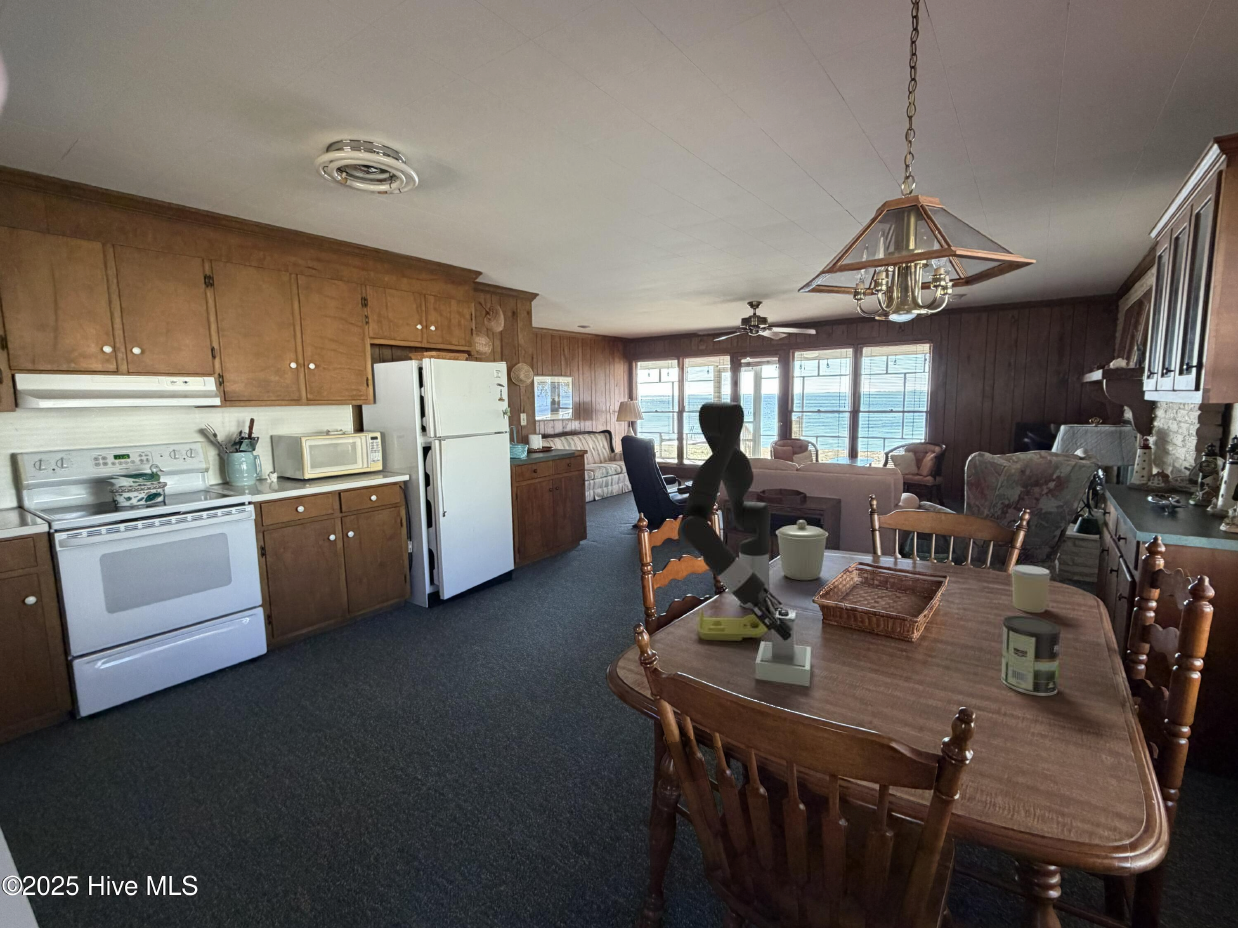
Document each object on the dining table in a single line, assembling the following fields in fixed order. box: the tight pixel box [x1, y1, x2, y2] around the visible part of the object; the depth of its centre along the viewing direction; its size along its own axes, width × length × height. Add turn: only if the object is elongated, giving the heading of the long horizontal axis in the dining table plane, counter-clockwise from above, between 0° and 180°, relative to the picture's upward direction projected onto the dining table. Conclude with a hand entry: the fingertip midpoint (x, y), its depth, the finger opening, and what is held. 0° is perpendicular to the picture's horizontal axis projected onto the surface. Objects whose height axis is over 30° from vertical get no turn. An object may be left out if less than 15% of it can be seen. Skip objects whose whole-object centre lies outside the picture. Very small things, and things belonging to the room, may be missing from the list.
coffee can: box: [1000, 615, 1062, 697], centre depth 123 cm, size 10×10×14 cm
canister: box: [775, 519, 829, 581], centre depth 202 cm, size 18×18×21 cm
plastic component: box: [697, 609, 771, 642], centre depth 154 cm, size 20×7×10 cm
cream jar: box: [1011, 564, 1052, 613], centre depth 166 cm, size 9×9×12 cm
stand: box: [755, 640, 812, 687], centre depth 133 cm, size 12×12×4 cm
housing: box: [771, 608, 797, 659], centre depth 132 cm, size 5×5×11 cm
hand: (789, 630), depth 132 cm, fingers open, 8 cm apart
